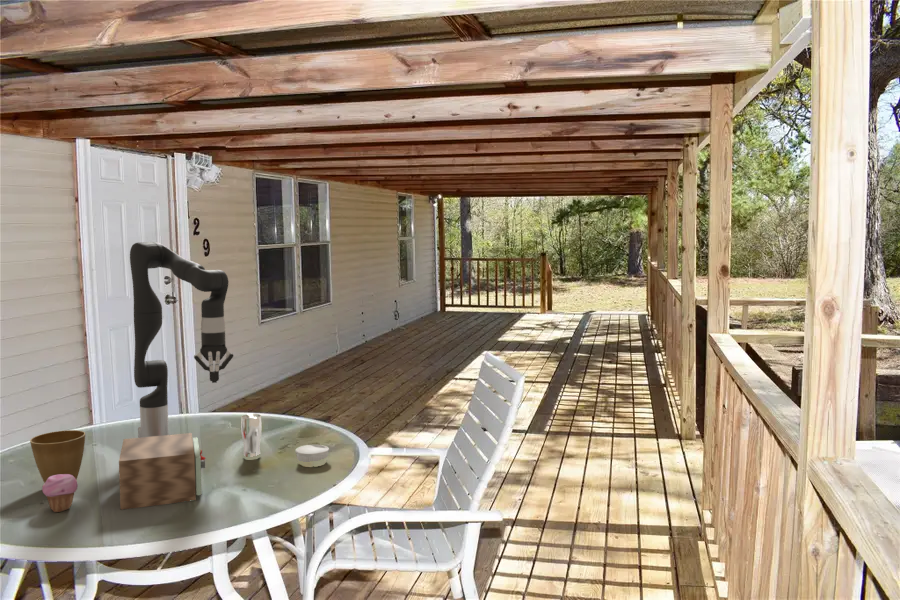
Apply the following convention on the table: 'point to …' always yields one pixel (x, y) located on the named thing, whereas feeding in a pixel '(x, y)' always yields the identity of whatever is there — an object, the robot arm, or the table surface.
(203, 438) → the table surface
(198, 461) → the drawer
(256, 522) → the table surface
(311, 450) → the ramekin
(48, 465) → the plant pot
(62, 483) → the cupcake
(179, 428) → the table surface
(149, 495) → the wooden drawer cabinet
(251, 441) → the beer glass
